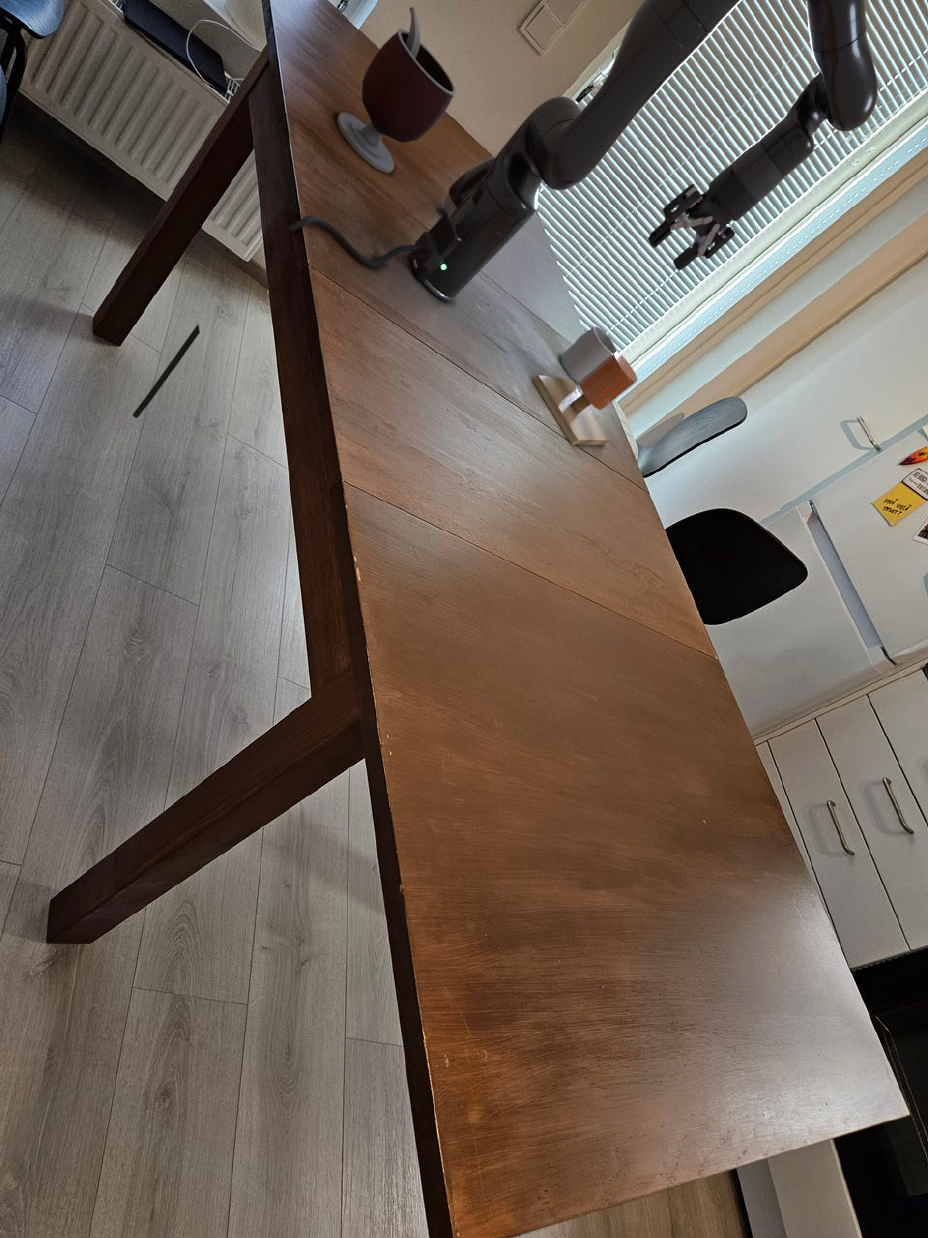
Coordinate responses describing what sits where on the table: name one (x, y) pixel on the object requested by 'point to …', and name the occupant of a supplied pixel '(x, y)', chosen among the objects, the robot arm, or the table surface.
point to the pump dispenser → (466, 184)
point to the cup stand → (571, 411)
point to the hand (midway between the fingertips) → (663, 255)
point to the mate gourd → (398, 97)
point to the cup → (587, 353)
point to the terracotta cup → (608, 381)
